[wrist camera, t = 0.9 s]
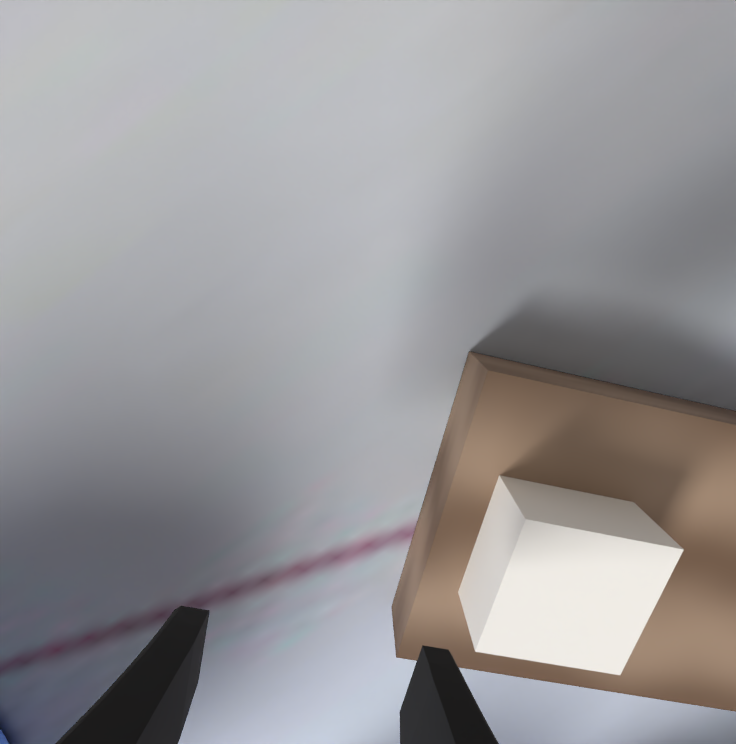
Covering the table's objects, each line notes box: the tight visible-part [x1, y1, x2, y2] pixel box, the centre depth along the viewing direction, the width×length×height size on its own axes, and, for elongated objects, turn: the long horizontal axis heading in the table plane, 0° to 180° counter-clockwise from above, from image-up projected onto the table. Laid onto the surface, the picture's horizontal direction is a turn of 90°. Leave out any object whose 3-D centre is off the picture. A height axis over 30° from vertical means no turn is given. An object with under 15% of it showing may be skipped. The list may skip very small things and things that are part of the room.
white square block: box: [458, 475, 684, 675], centre depth 15 cm, size 5×5×2 cm
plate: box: [392, 351, 736, 711], centre depth 18 cm, size 12×16×2 cm
